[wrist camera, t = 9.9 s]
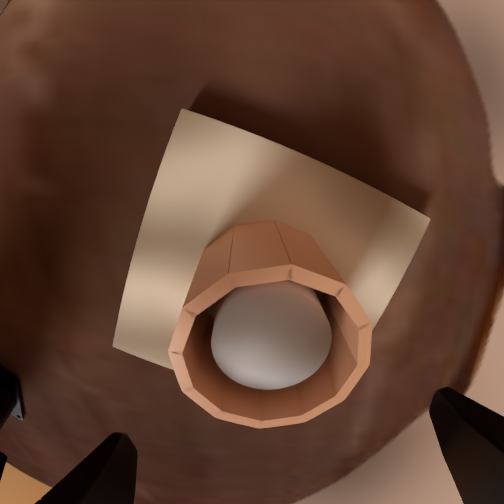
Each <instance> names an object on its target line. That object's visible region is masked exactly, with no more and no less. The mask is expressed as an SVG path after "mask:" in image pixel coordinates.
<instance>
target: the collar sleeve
mask: <svg viewBox="0 0 504 504" xmlns="http://www.w3.org/2000/svg"><path fill="white" fill-rule="evenodd" d="M284 280H291V281H294V282H296V283H299V284H302V285H305V286H308V287H310V288H313V289H316V290H319V291H322V292H324V296H323V298H322V300H321V302H320V304H321V306H322V308H323V311H324V313H325V315H326V317H327V319H328V322H329V324H330V328H331V333H332V342H331V347H330V351H329V353H328V356H327V357H326V359H325V361H324V362H323V364H322V365H321V367H320V368H319V369H318V370H317V371H316V372H315V373H313V374H312V375H311V376H310V377H308V378H307V379H305V380H303V381H301V382H300V383H297V384H295V385H292V386H289V387H286V388H281V389H273V390H263V389H255V388H251V387H247V386H244V385H242V384H239V383H237V382H236V381H234V380H232V379H231V378H229V377H228V376H227V375H226V374H225V373H224V372H223V371H222V370H221V369H220V368H219V366H218V365H217V363H216V361H215V359H214V356H213V354H212V348H211V339H212V332H213V326H214V318H213V317H212V316H211V315H210V314H209V313H208V310H207V308H208V307H209V306H210V305H212V304H213V303H215V302H216V301H217V300H219V299H220V298H222V297H223V296H224V295H226V294H227V293H228V292H230V291H231V290H232V289H234V288H235V287H242V286H249V285H257V284H264V283H270V282H277V281H284ZM371 337H372V322H371V320H370V319H369V317H368V316H367V314H366V313H365V311H364V310H363V308H362V307H361V305H360V304H359V302H358V301H357V300H356V298H355V297H354V295H353V294H352V292H351V291H350V289H349V288H348V286H347V285H346V284H345V282H344V281H343V279H342V278H341V276H340V275H339V274H338V272H337V271H336V269H335V268H334V266H333V265H332V264H331V262H330V261H329V259H328V258H327V257H326V255H325V254H324V253H323V251H322V250H321V248H320V247H319V246H318V244H317V243H316V242H315V240H314V239H313V238H312V236H311V235H310V234H308V233H306V232H303V231H301V230H298V229H296V228H293V227H291V226H288V225H286V224H283V223H281V222H278V221H276V220H270V221H263V222H256V223H249V224H242V225H236V226H233V227H232V228H231V229H229V230H228V231H227V232H226V233H224V234H223V235H222V236H220V237H219V238H218V239H217V240H215V241H214V242H213V243H212V244H210V245H209V246H208V247H207V248H205V249H204V250H203V253H202V256H201V258H200V261H199V264H198V266H197V269H196V272H195V274H194V277H193V280H192V282H191V285H190V288H189V291H188V293H187V296H186V299H185V302H184V304H183V307H182V310H181V313H180V316H179V319H178V322H177V325H176V328H175V331H174V334H173V337H172V340H171V343H170V346H169V349H168V354H169V357H170V360H171V363H172V366H173V368H174V371H175V374H176V377H177V380H178V382H179V385H180V388H181V390H182V392H184V393H185V394H186V395H187V396H188V397H190V398H191V399H192V400H193V401H195V402H196V403H197V404H198V405H200V406H201V407H202V408H203V409H205V410H206V411H207V412H209V413H210V414H211V415H212V416H214V417H215V418H218V419H222V420H226V421H230V422H234V423H238V424H242V425H246V426H251V427H255V428H268V427H276V426H283V425H290V424H297V423H303V422H306V421H308V420H310V419H312V418H314V417H315V416H317V415H319V414H321V413H323V412H324V411H326V410H328V409H330V408H332V407H333V406H335V405H337V404H338V403H340V402H342V401H343V400H345V398H346V397H347V396H348V394H349V393H350V392H351V390H352V389H353V388H354V386H355V385H356V384H357V382H358V381H359V379H360V378H361V376H362V375H363V374H364V372H365V371H366V369H367V368H368V366H369V365H370V353H371Z"/></svg>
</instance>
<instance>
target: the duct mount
mask: <svg viewBox="0 0 504 504" xmlns="http://www.w3.org/2000/svg"><path fill="white" fill-rule="evenodd" d="M270 220H276V221H278V222H281V223H283V224H286V225H288V226H291V227H293V228H296V229H298V230H301V231H303V232H306V233H308V234H310V235H311V236H312V238H313V239H314V240H315V242H316V243H317V244H318V246H319V247H320V248H321V250H322V251H323V253H324V254H325V255H326V257H327V258H328V259H329V261H330V262H331V264H332V265H333V266H334V268H335V269H336V271H337V272H338V274H339V275H340V276H341V278H342V279H343V281H344V282H345V284H346V285H347V286H348V288H349V289H350V291H351V292H352V294H353V295H354V297H355V298H356V300H357V301H358V302H359V304H360V305H361V307H362V308H363V310H364V311H365V313H366V314H367V316H368V317H369V319H370V320H371V322H372V330H373V328H374V327H375V325H376V323H377V322H378V320H379V318H380V317H381V315H382V313H383V311H384V310H385V308H386V306H387V304H388V303H389V301H390V299H391V297H392V296H393V294H394V292H395V290H396V288H397V286H398V285H399V283H400V281H401V279H402V277H403V275H404V273H405V271H406V269H407V267H408V266H409V264H410V262H411V260H412V258H413V256H414V254H415V252H416V249H417V247H418V245H419V243H420V241H421V239H422V237H423V235H424V233H425V230H426V228H427V226H428V224H429V222H430V218H428V217H427V216H425V215H423V214H421V213H420V212H418V211H416V210H414V209H412V208H411V207H409V206H407V205H405V204H403V203H402V202H400V201H398V200H396V199H394V198H392V197H390V196H389V195H387V194H385V193H383V192H381V191H379V190H377V189H375V188H373V187H371V186H369V185H367V184H365V183H363V182H361V181H359V180H357V179H355V178H353V177H351V176H349V175H347V174H345V173H343V172H341V171H339V170H337V169H334V168H332V167H330V166H328V165H326V164H324V163H322V162H319V161H317V160H315V159H313V158H310V157H308V156H306V155H304V154H301V153H299V152H297V151H294V150H292V149H290V148H287V147H285V146H283V145H280V144H278V143H275V142H273V141H270V140H268V139H265V138H263V137H260V136H258V135H255V134H253V133H250V132H248V131H245V130H242V129H240V128H237V127H234V126H232V125H229V124H226V123H223V122H221V121H218V120H215V119H212V118H209V117H206V116H203V115H200V114H198V113H195V112H191V111H188V110H185V109H181V112H180V114H179V117H178V119H177V122H176V124H175V127H174V129H173V132H172V135H171V137H170V140H169V143H168V145H167V148H166V151H165V154H164V157H163V159H162V162H161V165H160V168H159V171H158V174H157V177H156V180H155V183H154V186H153V189H152V192H151V195H150V198H149V201H148V205H147V208H146V211H145V214H144V218H143V221H142V225H141V228H140V232H139V235H138V239H137V242H136V246H135V250H134V253H133V257H132V261H131V265H130V269H129V273H128V277H127V281H126V285H125V289H124V294H123V298H122V302H121V307H120V311H119V316H118V321H117V326H116V331H115V336H114V341H113V347H115V348H117V349H120V350H122V351H125V352H127V353H130V354H132V355H135V356H137V357H140V358H143V359H145V360H148V361H150V362H153V363H156V364H159V365H161V366H164V367H167V368H170V369H173V370H174V368H173V366H172V363H171V360H170V357H169V354H168V349H169V346H170V343H171V340H172V337H173V334H174V331H175V328H176V325H177V322H178V319H179V316H180V313H181V310H182V307H183V304H184V302H185V299H186V296H187V293H188V291H189V288H190V285H191V282H192V280H193V277H194V274H195V272H196V269H197V266H198V264H199V261H200V258H201V256H202V253H203V250H204V249H205V248H207V247H208V246H209V245H210V244H212V243H213V242H214V241H215V240H217V239H218V238H219V237H220V236H222V235H223V234H224V233H226V232H227V231H228V230H229V229H231V228H232V227H233V226H236V225H242V224H249V223H256V222H263V221H270ZM323 296H324V292H322V291H319V290H316V289H313V288H310V287H308V286H305V285H302V284H299V283H296V282H294V281H291V280H284V281H277V282H270V283H264V284H257V285H249V286H242V287H235V288H234V289H232V290H231V291H230V292H228V293H227V294H226V295H224V296H223V297H222V298H220V299H219V300H217V301H216V302H215V303H213V304H212V305H210V306H209V307H208V308H207V310H208V313H209V314H210V315H211V316H212V317H213V318H214V326H213V332H212V339H211V348H212V354H213V356H214V359H215V361H216V363H217V365H218V366H219V368H220V369H221V370H222V371H223V372H224V373H225V374H226V375H227V376H228V377H229V378H231V379H232V380H234V381H236V382H237V383H239V384H242V385H244V386H247V387H251V388H255V389H263V390H273V389H281V388H286V387H289V386H292V385H295V384H297V383H300V382H301V381H303V380H305V379H307V378H308V377H310V376H311V375H312V374H313V373H315V372H316V371H317V370H318V369H319V368H320V367H321V365H322V364H323V362H324V361H325V359H326V357H327V356H328V353H329V351H330V347H331V342H332V333H331V328H330V324H329V322H328V319H327V317H326V315H325V313H324V311H323V308H322V306H321V304H320V302H321V300H322V298H323Z"/></svg>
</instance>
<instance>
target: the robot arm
mask: <svg viewBox="0 0 504 504" xmlns="http://www.w3.org/2000/svg"><path fill="white" fill-rule="evenodd" d="M429 413H430V417H431V420H432V423H433V426H434V429H435V432H436V435H437V438H438V442H439V444H440V448H441V451H442V454H443V456H444V459H445V461H446V463H447V466H448V468H449V470H450V472H451V474H452V477H453V479H454V481H455V484H456V486H457V489H458V491H459V493H460V496H461V498H462V501H463V503H464V504H504V417H503V416H501V415H500V414H498V413H496V412H494V411H492V410H490V409H488V408H487V407H485V406H483V405H481V404H479V403H477V402H475V401H474V400H472V399H470V398H468V397H466V396H464V395H462V394H461V393H459V392H457V391H455V390H453V389H451V388H449V387H444V388H441V389H438V390H436V391H435V392H434V395H433V399H432V402H431V405H430V409H429ZM10 414H11V415H13V416H15V417H16V418H18V419H20V420H23V418H24V412H23V407H22V401H21V394H20V387H19V381H18V379H17V378H16V377H15V376H14V375H12V374H11V373H9V372H8V371H6V370H4V369H3V368H1V367H0V429H1V428H2V426H3V425H4V423H5V422H6V420H7V419H8V417H9V416H10ZM137 456H138V455H137V450H136V448H135V446H134V444H133V443H132V441H131V440H130V438H129V436H128V435H127V434H126V433H121V432H114V433H112V434H110V435H109V436H108V437H107V438H106V439H105V440H104V441H103V442H102V443H101V444H100V445H99V446H98V447H97V448H96V449H95V450H93V451H92V452H91V453H90V454H89V455H88V456H87V457H86V458H85V459H84V460H83V461H82V462H81V463H79V464H78V465H77V466H76V467H75V468H74V469H73V470H72V471H71V472H70V473H69V474H67V475H66V476H65V477H64V478H63V479H62V480H61V481H60V482H59V483H58V484H56V485H55V486H54V487H53V488H52V489H51V490H50V491H49V492H47V493H46V494H45V495H44V496H43V497H42V498H41V500H38V501H37V502H36V503H35V504H134V498H135V486H136V470H137ZM6 460H7V456H6V455H5V454H4V453H2V452H1V451H0V480H1V477H2V473H3V470H4V467H5V464H6Z"/></svg>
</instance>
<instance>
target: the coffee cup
mask: <svg viewBox="0 0 504 504" xmlns="http://www.w3.org/2000/svg"><path fill="white" fill-rule="evenodd" d="M7 3H8V0H0V15H1V13H2V12H3V10H4V8H5V6H6V5H7Z"/></svg>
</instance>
